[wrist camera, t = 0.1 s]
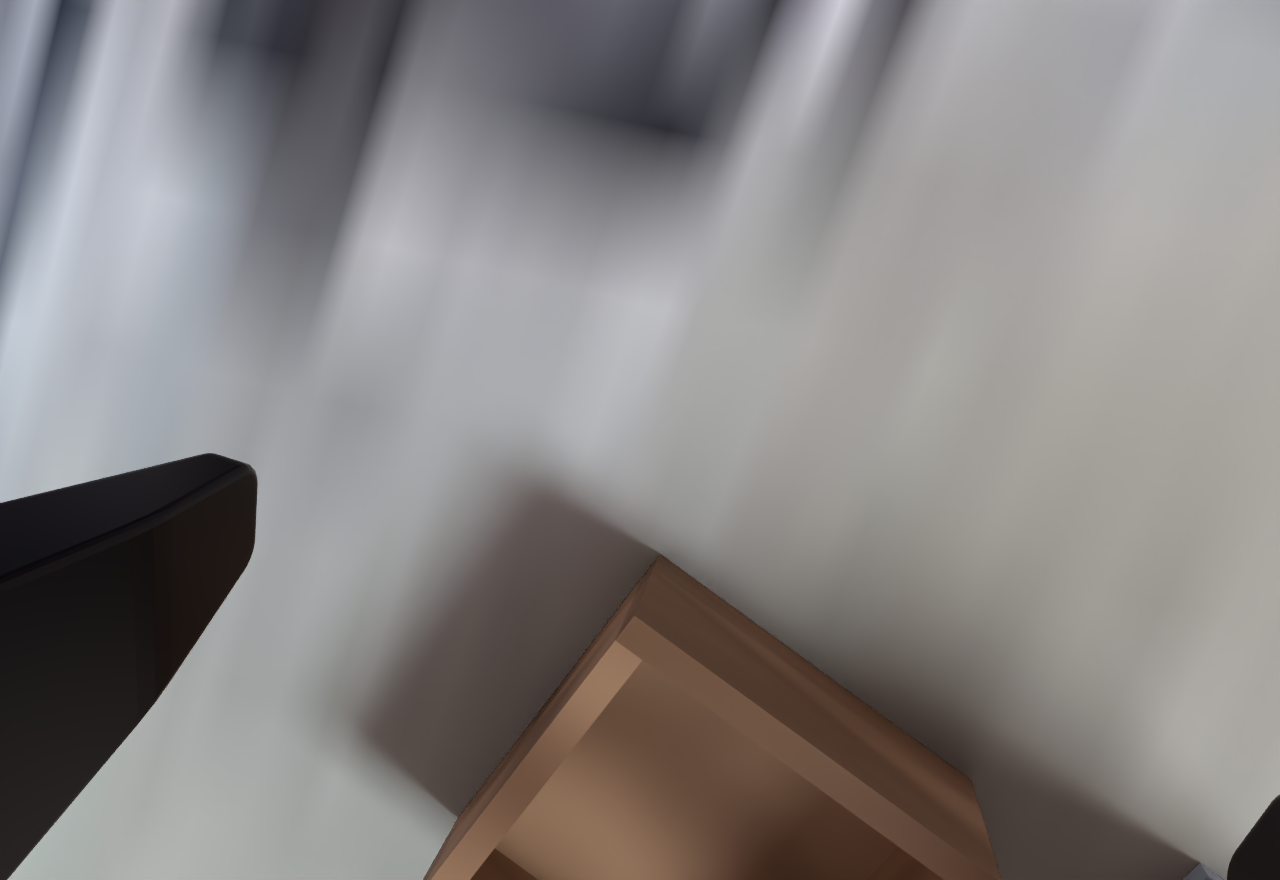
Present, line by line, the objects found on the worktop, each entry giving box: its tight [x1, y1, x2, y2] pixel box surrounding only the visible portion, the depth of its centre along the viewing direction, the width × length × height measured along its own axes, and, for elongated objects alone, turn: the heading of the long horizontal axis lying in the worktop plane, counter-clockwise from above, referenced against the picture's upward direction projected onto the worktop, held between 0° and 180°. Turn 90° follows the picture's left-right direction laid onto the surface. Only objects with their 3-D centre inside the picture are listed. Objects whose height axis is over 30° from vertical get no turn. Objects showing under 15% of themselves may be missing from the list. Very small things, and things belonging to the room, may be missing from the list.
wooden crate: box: [423, 555, 1002, 880], centre depth 24 cm, size 9×9×4 cm
